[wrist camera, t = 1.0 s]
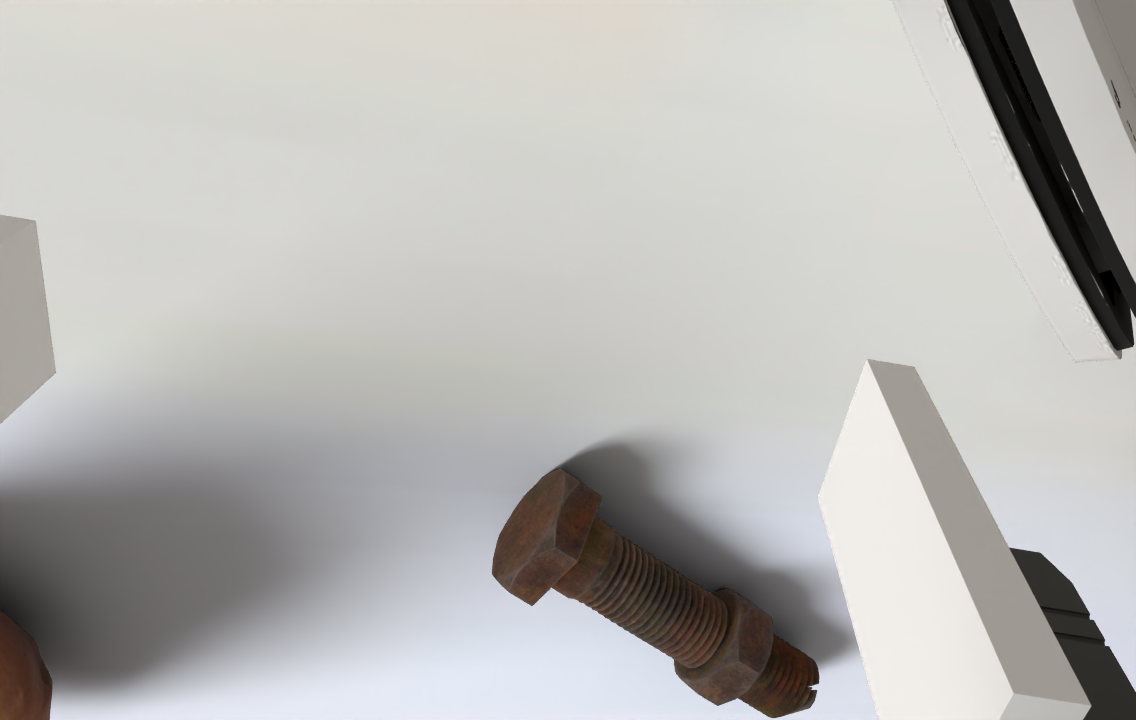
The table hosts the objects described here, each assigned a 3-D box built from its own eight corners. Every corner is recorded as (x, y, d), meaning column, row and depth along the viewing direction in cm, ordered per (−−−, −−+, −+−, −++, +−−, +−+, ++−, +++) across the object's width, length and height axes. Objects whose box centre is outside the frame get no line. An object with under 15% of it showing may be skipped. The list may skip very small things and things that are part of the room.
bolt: (773, 638, 46) (523, 478, 42) (851, 624, 42) (584, 446, 38) (745, 758, 42) (471, 597, 38) (827, 755, 38) (532, 576, 34)
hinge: (1223, 211, 33) (1285, 389, 25) (1076, 259, 36) (1095, 432, 28) (1038, -263, 27) (1051, -207, 20) (879, -160, 30) (839, -78, 22)
